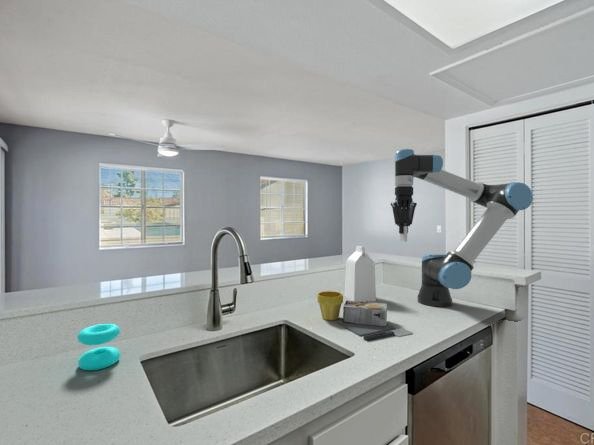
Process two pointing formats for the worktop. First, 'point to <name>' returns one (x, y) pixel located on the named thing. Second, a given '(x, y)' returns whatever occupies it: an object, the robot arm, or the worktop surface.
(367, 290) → the milk
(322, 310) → the plant pot
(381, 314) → the coffee box
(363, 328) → the mat
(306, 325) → the worktop surface
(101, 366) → the donuts
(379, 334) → the turner
